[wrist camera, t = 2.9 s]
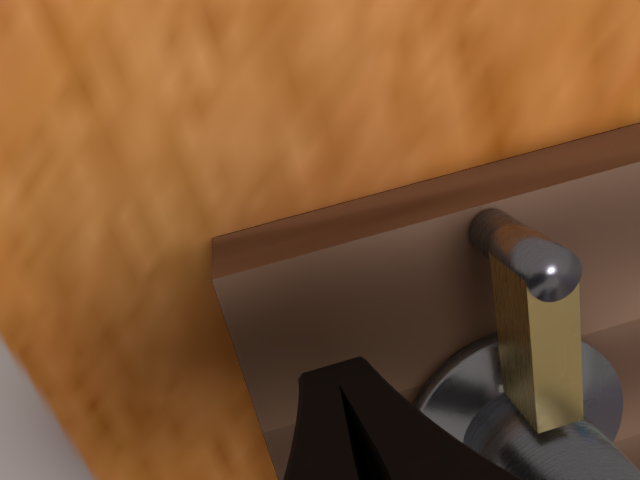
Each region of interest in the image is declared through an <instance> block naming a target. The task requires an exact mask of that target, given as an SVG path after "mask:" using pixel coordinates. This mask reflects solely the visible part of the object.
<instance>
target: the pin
mask: <svg viewBox="0 0 640 480" xmlns="http://www.w3.org/2000/svg"><path fill="white" fill-rule="evenodd" d="M581 354H582V385H583V415H584V419H583V420H579V421H576V422H573V423H570V424H567V425H564V426H561V427H557V428H554V429H551V430H548V431H545V432H542V433H539V434H538V433H537V432H536V431H535V430H534V428H533V427H532V426H531V425H530V423H529V422H528V421H527V420H526V419H525V417H524V416H523V415H522V414H521V412H520V411H519V410H518V409H517V408H516V406H515V405H514V404H513V403H512V401H511V400H510V399H509V398H508V396H507V395H506V394H505V393H504V392H503V384H502V375H501V365H500V356H499V346H498V337H497V332H496V333H493V334H490V335H487V336H485V337H483V338H481V339H479V340H477V341H475V342H473V343H471V344H469V345H468V346H466V347H464V348H463V349H461V350H460V351H458V352H457V353H455V354H454V355H453V356H452V357H450V358H449V359H448V360H446V361H445V362H444V363H443V364H442V365H441V366H440V367H439V368H438V369H437V370H436V371H435V372H434V373H433V375H432V376H431V377H430V378H429V379H428V381H427V382H426V383H425V385H424V386H423V388H422V389H421V391H420V392H419V394H418V395H417V397H416V399H415V401H414V403H413V405H414V406H415V407H416V408H417V409H419V410H420V411H421V412H422V413H423V414H425V415H426V416H427V417H428V418H430V419H431V420H432V421H433V422H435V423H436V424H437V425H439V426H440V427H441V428H443V429H444V430H445V431H447V432H448V433H450V434H451V435H452V436H454V437H455V438H456V439H458V440H459V441H461V442H462V443H464V444H465V445H467V446H468V447H470V448H471V449H473V450H474V451H476V452H477V453H479V454H480V455H482V456H483V457H485V458H487V459H488V460H490V461H492V462H493V463H495V464H496V465H498V466H500V467H501V468H503V469H505V470H507V471H508V472H510V473H512V474H514V475H515V476H517V477H519V478H521V479H523V480H640V470H639V469H638V468H637V467H636V466H635V465H634V464H633V463H632V462H631V461H630V460H629V459H628V458H627V457H626V456H625V455H624V454H623V453H622V452H621V451H620V450H619V449H618V448H617V447H616V446H615V445H614V444H613V442H614V440H615V438H616V436H617V433H618V430H619V427H620V423H621V419H622V413H623V392H622V388H621V384H620V380H619V378H618V376H617V373H616V371H615V370H614V368H613V367H612V365H611V364H610V362H609V361H608V360H607V359H606V358H605V357H604V356H603V355H602V354H601V353H600V352H598V351H597V350H596V349H595V348H594V347H592V346H591V345H590V344H589V343H587V342H586V341H584V340H583V339H582V338H581Z"/></svg>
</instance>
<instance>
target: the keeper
mask: <svg viewBox="0 0 640 480" xmlns="http://www.w3.org/2000/svg"><path fill="white" fill-rule="evenodd" d="M469 240H470V243H471V244H472V246H473V247H474V248H475V249H476V250H477V251H479V252H480V253H481V254H482V255H484V256H485V257H486V258H487V259H489V260H490V270H491V279H492V289H493V298H494V308H495V317H496V327H497V337H498V346H499V356H500V365H501V375H502V384H503V392H504V393H505V394H506V395H507V396H508V398H509V399H510V400H511V401H512V403H513V404H514V405H515V406H516V408H517V409H518V410H519V411H520V412H521V414H522V415H523V416H524V417H525V419H526V420H527V421H528V422H529V423H530V425H531V426H532V427H533V428H534V430H535V431H536V432H537V433H538V434H539V433H542V432H545V431H548V430H551V429H554V428H557V427H561V426H564V425H567V424H570V423H573V422H576V421H579V420H583V419H584V415H583V385H582V354H581V324H580V294H579V281H580V279H581V276H582V264H581V261H580V259H579V258H578V256H577V255H576V254H574V253H573V252H571V251H570V250H568V249H566V248H564V247H563V246H561V245H559V244H558V243H556V242H554V241H553V240H551V239H549V238H548V237H546V236H544V235H543V234H541V233H539V232H538V231H536V230H534V229H533V228H531V227H529V226H527V225H526V224H524V223H522V222H521V221H519V220H517V219H516V218H514V217H512V216H511V215H509V214H507V213H506V212H504V211H502V210H499V209H490V210H487V211H484V212H482V213H481V214H479V215H478V216H477V217H476V218H475V219H474V221H473V222H472V224H471V227H470V230H469Z"/></svg>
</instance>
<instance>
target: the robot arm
mask: <svg viewBox="0 0 640 480" xmlns="http://www.w3.org/2000/svg"><path fill="white" fill-rule="evenodd" d="M298 384H299V398H298V409H297V417H296V424H295V429H294V435H293V440H292V446H291V451H290V455H289V460H288V463H287V467H286V471H285V475H284V479H283V480H523V479H521V478H519V477H517V476H515V475H514V474H512V473H510V472H508V471H507V470H505V469H503V468H501V467H500V466H498V465H496V464H495V463H493V462H492V461H490V460H488V459H487V458H485V457H483V456H482V455H480V454H479V453H477V452H476V451H474V450H473V449H471V448H470V447H468V446H467V445H465V444H464V443H462V442H461V441H459V440H458V439H456V438H455V437H454V436H452V435H451V434H450V433H448V432H447V431H445V430H444V429H443V428H441V427H440V426H439V425H437V424H436V423H435V422H433V421H432V420H431V419H430V418H428V417H427V416H426V415H425V414H423V413H422V412H421V411H420V410H419V409H417V408H416V407H415V406H414V405H413V404H411V403H410V402H409V401H408V400H407V399H405V398H404V397H403V396H402V395H401V394H400V393H399V392H398V391H396V390H395V389H394V388H393V387H392V386H391V385H390V384H389V383H388V382H387V381H386V380H385V379H384V378H383V377H382V376H381V375H380V374H379V373H378V372H377V371H376V370H375V369H374V368H373V367H372V366H371V364H370V363H369V362H368V361H367V360H366V359H365V358H363V357H361V356H359V357H355V358H352V359H349V360H345V361H342V362H339V363H335V364H332V365H328V366H325V367H322V368H318V369H315V370H312V371H308V372H305V373H302V374H301V376H300V377H299V379H298Z"/></svg>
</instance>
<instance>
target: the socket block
mask: <svg viewBox="0 0 640 480" xmlns="http://www.w3.org/2000/svg"><path fill="white" fill-rule="evenodd" d="M490 209H499V210H502V211H504V212H506V213H507V214H509V215H511V216H512V217H514V218H516V219H517V220H519V221H521V222H522V223H524V224H526V225H527V226H529V227H531V228H533V229H534V230H536V231H538V232H539V233H541V234H543V235H544V236H546V237H548V238H549V239H551V240H553V241H554V242H556V243H558V244H559V245H561V246H563V247H564V248H566V249H568V250H570V251H571V252H573V253H574V254H576V255H577V256H578V258H579V259H580V261H581V264H582V276H581V279H580V281H579V294H580V324H581V338H582V339H583V340H584V341H586V342H587V343H589V344H590V345H591V346H592V347H594V348H595V349H596V350H597V351H598V352H600V353H601V354H602V355H603V356H604V357H605V358H606V359H607V360H608V361H609V362H610V364H611V365H612V367H613V368H614V370H615V371H616V373H617V376H618V378H619V380H620V384H621V388H622V392H623V413H622V419H621V423H620V427H619V430H618V433H617V436H616V438H615V440H614V442H613V444H614V445H615V446H616V447H617V448H618V449H619V450H620V451H621V452H622V453H623V454H624V455H625V456H626V457H627V458H628V459H629V460H630V461H631V462H632V463H633V464H634V465H635V466H636V467H637V468H638V469H639V470H640V123H638V124H634V125H630V126H627V127H623V128H619V129H616V130H612V131H608V132H604V133H601V134H597V135H593V136H590V137H586V138H582V139H578V140H575V141H571V142H567V143H564V144H560V145H556V146H553V147H549V148H545V149H541V150H538V151H534V152H530V153H527V154H523V155H519V156H516V157H512V158H508V159H504V160H501V161H497V162H493V163H490V164H486V165H482V166H478V167H475V168H471V169H467V170H464V171H460V172H456V173H453V174H449V175H445V176H441V177H438V178H434V179H430V180H427V181H423V182H419V183H416V184H412V185H408V186H404V187H401V188H397V189H393V190H390V191H386V192H382V193H378V194H375V195H371V196H367V197H364V198H360V199H356V200H353V201H349V202H345V203H341V204H338V205H334V206H330V207H327V208H323V209H319V210H316V211H312V212H308V213H304V214H301V215H297V216H293V217H290V218H286V219H282V220H278V221H275V222H271V223H267V224H264V225H260V226H256V227H253V228H249V229H245V230H241V231H238V232H234V233H230V234H227V235H223V236H219V237H215V238H213V247H212V283H213V286H214V289H215V292H216V295H217V298H218V301H219V304H220V307H221V310H222V313H223V316H224V319H225V322H226V325H227V328H228V331H229V334H230V337H231V340H232V343H233V346H234V349H235V352H236V355H237V358H238V361H239V364H240V367H241V370H242V373H243V376H244V379H245V382H246V385H247V388H248V391H249V394H250V397H251V400H252V403H253V406H254V409H255V412H256V415H257V418H258V421H259V424H260V427H261V429H262V432H263V435H264V438H265V441H266V444H267V447H268V450H269V453H270V456H271V459H272V462H273V465H274V468H275V471H276V474H277V477H278V480H283V479H284V475H285V471H286V467H287V463H288V460H289V455H290V451H291V446H292V440H293V435H294V429H295V424H296V417H297V409H298V398H299V384H298V379H299V377H300V376H301V374H302V373H305V372H308V371H312V370H315V369H318V368H322V367H325V366H328V365H332V364H335V363H339V362H342V361H345V360H349V359H352V358H355V357H359V356H361V357H363V358H365V359H366V360H367V361H368V362H369V363H370V364H371V366H372V367H373V368H374V369H375V370H376V371H377V372H378V373H379V374H380V375H381V376H382V377H383V378H384V379H385V380H386V381H387V382H388V383H389V384H390V385H391V386H392V387H393V388H394V389H395V390H396V391H398V392H399V393H400V394H401V395H402V396H403V397H404V398H405V399H407V400H408V401H409V402H410V403H411V404H413V403H414V401H415V399H416V397H417V395H418V394H419V392H420V391H421V389H422V388H423V386H424V385H425V383H426V382H427V381H428V379H429V378H430V377H431V376H432V375H433V373H434V372H435V371H436V370H437V369H438V368H439V367H440V366H441V365H442V364H443V363H444V362H445V361H446V360H448V359H449V358H450V357H452V356H453V355H454V354H455V353H457V352H458V351H460V350H461V349H463V348H464V347H466V346H468V345H469V344H471V343H473V342H475V341H477V340H479V339H481V338H483V337H485V336H487V335H490V334H493V333H496V332H497V327H496V317H495V308H494V298H493V289H492V279H491V270H490V260H489V259H487V258H486V257H485V256H484V255H482V254H481V253H480V252H479V251H477V250H476V249H475V248H474V247H473V246H472V244H471V243H470V240H469V230H470V227H471V224H472V222H473V221H474V219H475V218H476V217H477V216H478V215H479V214H481V213H482V212H484V211H487V210H490Z"/></svg>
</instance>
